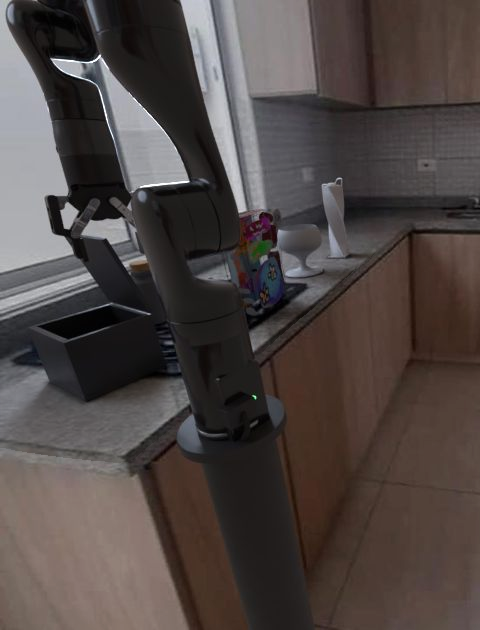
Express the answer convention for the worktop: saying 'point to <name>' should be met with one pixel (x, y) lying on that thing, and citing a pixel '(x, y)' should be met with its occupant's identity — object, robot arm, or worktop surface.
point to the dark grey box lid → (112, 274)
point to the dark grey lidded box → (98, 349)
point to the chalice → (300, 246)
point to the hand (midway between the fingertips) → (116, 257)
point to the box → (257, 261)
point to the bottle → (148, 289)
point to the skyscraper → (335, 220)
